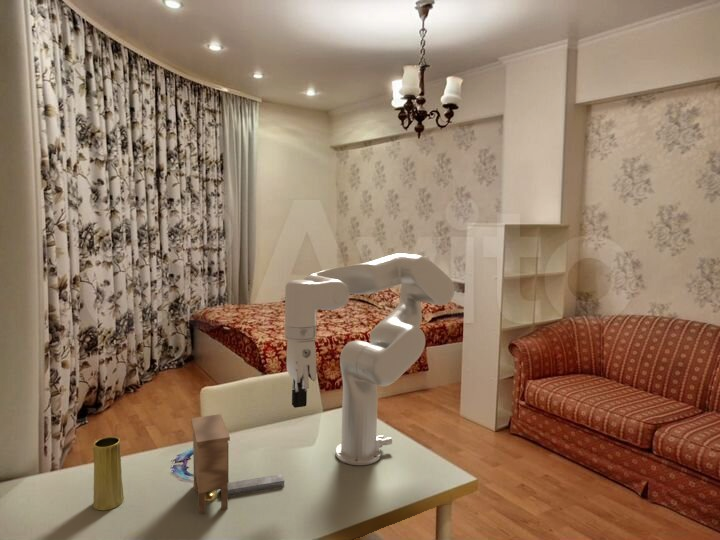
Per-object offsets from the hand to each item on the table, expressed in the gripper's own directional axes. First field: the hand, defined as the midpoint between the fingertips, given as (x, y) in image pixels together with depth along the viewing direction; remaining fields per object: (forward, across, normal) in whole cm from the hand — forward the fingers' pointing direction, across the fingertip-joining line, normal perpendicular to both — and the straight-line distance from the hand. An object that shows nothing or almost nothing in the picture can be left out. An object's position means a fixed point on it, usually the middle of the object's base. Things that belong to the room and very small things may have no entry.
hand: (299, 405), depth 117 cm
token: (+19, 0, +21) cm, 29 cm away
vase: (+19, +6, +42) cm, 47 cm away
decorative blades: (+20, +18, +25) cm, 36 cm away
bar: (+19, 0, +11) cm, 22 cm away
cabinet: (+19, 0, +21) cm, 28 cm away
